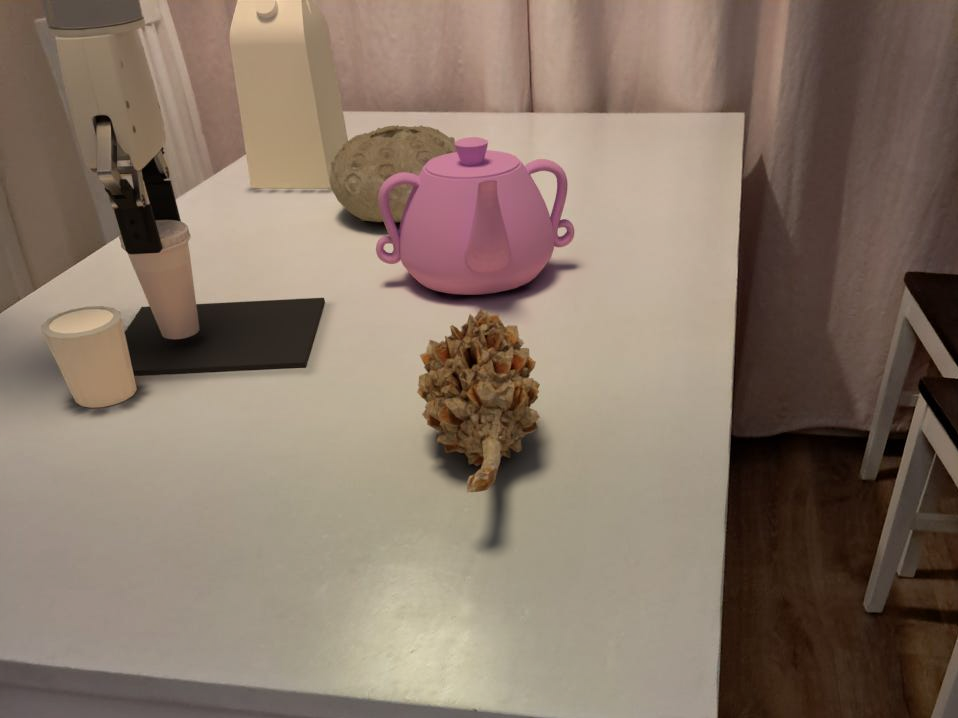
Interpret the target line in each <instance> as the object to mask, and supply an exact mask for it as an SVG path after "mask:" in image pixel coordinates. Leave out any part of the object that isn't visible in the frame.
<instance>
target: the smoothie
mask: <svg viewBox="0 0 958 718" xmlns="http://www.w3.org/2000/svg"><path fill="white" fill-rule="evenodd" d="M143 184H144V181H143ZM144 191H145V198H146V204H150V203H149V199H148V195H147V191H146V188H145V184H144ZM155 221H156V225H157V229H158V232H159V236H160V240H161V243H162V250H161V251H160V252H159V253H149V254H128V253H127V256H128V258H129V260H130V263H131V265H132V268H133V270H134V272H135V275H136V277H137V280H138V282H139V284H140V286H141V289H142V291H143V293H144V296H145V298H146V301H147V304H148V305H149V306H150V308H151V310H152V313H153V315H154V317H155V320H156V322H157V324H158V327H159V329H160V332H161V334H162V336H163V337H164V338H167V339H183V338H187V337H190V336H193V335H195V334H196V333H197V332H198V331H199V321H198V314H197V306H196V304H197V300H196V299H197V297H196V291H195V283H194V275H193V268H192V260H191V253H190V245H189V241H190V240H191V238H192V235H191V233H190V230H189V226H188V224H187V223H185V222H183V221H182V220H181V221H176V220H155ZM118 238H119V242H120V247H121V249H122V250H124V251H126V250H125V246H124V243H123V239H122V236H121V233H119V234H118ZM149 306H148V307H149Z"/></svg>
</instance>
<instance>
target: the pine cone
mask: <svg viewBox="0 0 958 718" xmlns="http://www.w3.org/2000/svg"><path fill="white" fill-rule="evenodd" d="M449 328H450V332H451V334H450V335H449V336H447V335H445V336H444V339H445V340H441V341H440V342H438V341H436V340H433V339H429V340H428V344H427V346H426V350H425V352H424V353H421V354H419V357H420V359H421V361H422V363H423V365H424V366H423V368H424V370H425V371H426V373H423V374H420V375H419V376H418V384H417V386H418V389H417V391H416V393H417V394H418V395H419V396H420V398H422V399H423V400H425V402H426V403H425V406H424V408H425V410H424V411H423V412H422V414H421V415H422V416H423V417H424V419H425V420H426V425H427V426H429V427H430V428H433V429H434V430H436V431H439V432H440V433H439V434H438V435H437V442H438V443H441V444H442V445H443V448H444V450H445V453H446V454H448V453H455V452H457V453H459V454H462V453H463V454H464V455H465V456H466V457H467V462H468V465H474V466H476V467H479V466H480V465H481V467H480V468H479V469H478V470H477V471H476V472H475V473H474V474H471V475H469V476H468V479H467V480H466V481H467V482H466V488H465V489H466V493H477V492H478V493H479V492H484V491H487V490H488V489H490V488H491V487H492V486H493V485H494V484H495V483H496V479H497V474H498V471H499V467H500V463H501V459H502V457H505V458H507V459H510V458H511V450H513V451H514V452H516V453H520V452H521V451H522V450H523V446H522V442H521V441H522V438H525V437H526V435H529V434H532V433H534V432H536V430H537V429H538V428H539V427H538V424H537V423H538V422H537V421H538V420H539V419H540V418H541V417H540V415H539V412H538V411H537V410H535V409H533V408H531V406H532V405H533V404H534V403H535V402H537V400H538V398H539V396H538V394H539V393H540V390H539V387H540V383H539V382H538V381H536V380H535V379H534V377H530V376H531V372H533V370H534V369H535V367H536V363H537V361H536V360H534V359H533V358H531V357H530V348H528V347H523V345H524V344H525V342H524V340H523V339H521V338H520V333H519V329H518V328H519V327H518V325H515V324H509V325H506V326H505V325H504V323H503V322H502V321H501V318H500V314H498V313H496V312H495V313H491V314H489V312H488V311H486V310H484V309H481V308H480V309H479V310H478V311H477V313H476V315H475V316H473V315H472V314H471V313H469V315H468V319H467V321H466V323H463V325H461V326H460V328H461V330H459V328H458V327H456V326H454V325H453V324H451V325H449Z"/></svg>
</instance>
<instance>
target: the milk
mask: <svg viewBox="0 0 958 718" xmlns="http://www.w3.org/2000/svg"><path fill="white" fill-rule="evenodd" d="M327 21H328V20H327V18H326V17H325V14H324V12H323V11H322V9H321V8H320V6H319V5H318V3H317V2H316V0H237V1H236V5H235V9H234V12H233V16H232V20H231V24H230V29H229V46H230V56H231V63H232V68H233V69H232V70H233V75H234V82H235V90H236V95H237V102H238V108H239V109H238V110H239V117H240V122H241V123H240V124H241V129H242V137H243V143H244V151H245V156H246V157H245V158H246V164H247V171H248V178H249V184H250V185H249V186H250V189H332V188H331V185H330V172H331V162H332V161H333V160H334V158H335V156H336V154H337V152H338V150H339V149H340V148H341V147H342V145H343V144H345V143H346V142H348V141H349V137H348V133H347V127H346V121H345V116H344V109H343V104H342V98H341V92H340V86H339V79H338V73H337V69H336V62H335V57H334V52H333V47H332V46H333V45H332V41H331V33H330V29H329V25H328V22H327Z"/></svg>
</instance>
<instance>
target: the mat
mask: <svg viewBox="0 0 958 718" xmlns="http://www.w3.org/2000/svg"><path fill="white" fill-rule="evenodd" d="M325 302H326V300H325V297H309V298H306V297H305V298H287V299H286V298H285V299H270V300H250V301H247V300H246V301H230V302H212V303H211V302H208V303H196V306H197V314H198V321H199V331H198V332H197V333H196V334H195V335H193V336H190V337H187V338H183V339H167V338H164V337H163V336H162V334H161V332H160V329H159V327H158V324H157V322H156V320H155V317H154V315H153V313H152V310H151V308H150V306H141V307H140V308H139V310H138V311H137V313H136V315H135V316H134V318H133V319H132V321H131V322H130V324H129V325H128V326H127V328H126V330H124V332H125V337H126V341H127V346H128V351H129V355H130V360H131V365H132V369H133V374H134V376H147V375H148V376H149V375H169V374H171V375H172V374H185V373H186V374H188V373H189V374H190V373H208V372H227V371H228V372H229V371H230V372H231V371H250V370H251V371H252V370H269V369H271V370H272V369H291V368H306V367H307V364H308V359H309V356H310V353H311V350H312V347H313V343H314V340H315V337H316V333H317V330H318V326H319V322H320V319H321V316H322V312H323V309H324V306H325Z"/></svg>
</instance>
